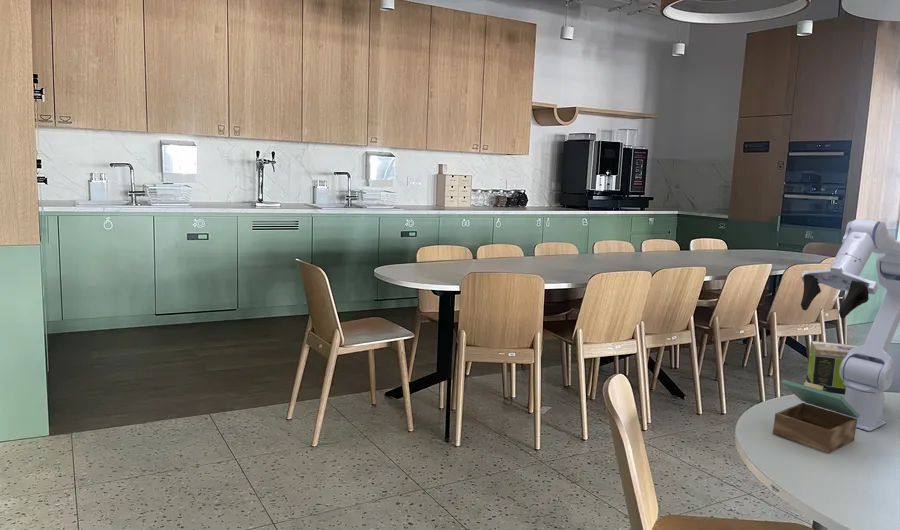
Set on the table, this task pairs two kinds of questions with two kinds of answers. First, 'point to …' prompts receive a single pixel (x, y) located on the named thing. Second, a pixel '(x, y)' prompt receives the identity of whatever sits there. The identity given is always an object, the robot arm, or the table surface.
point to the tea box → (827, 366)
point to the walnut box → (815, 427)
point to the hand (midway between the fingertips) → (821, 311)
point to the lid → (820, 398)
